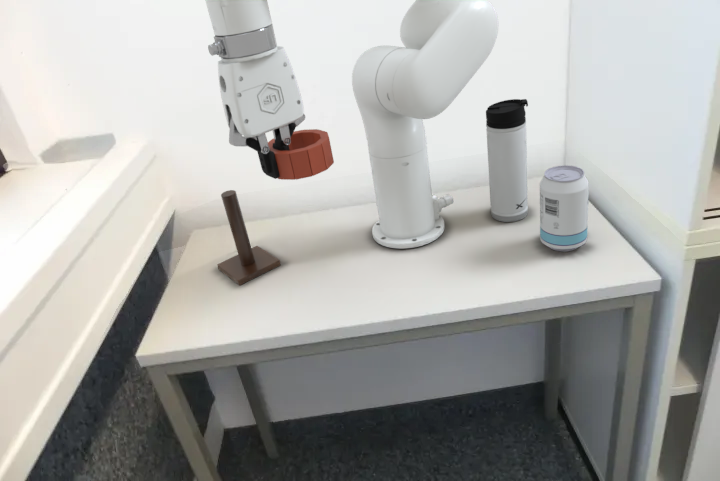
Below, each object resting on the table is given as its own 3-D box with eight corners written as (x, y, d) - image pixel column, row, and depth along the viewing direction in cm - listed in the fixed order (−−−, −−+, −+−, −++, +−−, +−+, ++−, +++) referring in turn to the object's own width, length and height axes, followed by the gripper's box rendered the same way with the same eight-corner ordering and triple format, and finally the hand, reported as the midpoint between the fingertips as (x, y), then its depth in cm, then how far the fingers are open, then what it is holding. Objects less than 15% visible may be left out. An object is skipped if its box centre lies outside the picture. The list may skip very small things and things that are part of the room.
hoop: (310, 149, 95) (305, 125, 93) (345, 161, 88) (341, 135, 86) (259, 171, 90) (253, 146, 88) (292, 185, 83) (286, 158, 81)
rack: (258, 250, 107) (238, 178, 101) (281, 265, 101) (261, 190, 95) (218, 269, 103) (195, 196, 97) (239, 285, 98) (216, 209, 91)
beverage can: (596, 248, 91) (598, 175, 85) (553, 259, 90) (554, 186, 84) (572, 229, 97) (573, 160, 91) (532, 239, 96) (531, 170, 90)
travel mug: (530, 221, 101) (528, 106, 92) (490, 223, 103) (484, 110, 93) (529, 205, 106) (527, 94, 97) (491, 206, 108) (485, 98, 98)
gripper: (205, 62, 71) (244, 200, 80) (312, 30, 79) (337, 159, 88) (180, 57, 77) (219, 187, 86) (282, 28, 84) (309, 150, 93)
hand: (279, 172), depth 87 cm, fingers closed on hoop, 1 cm apart
